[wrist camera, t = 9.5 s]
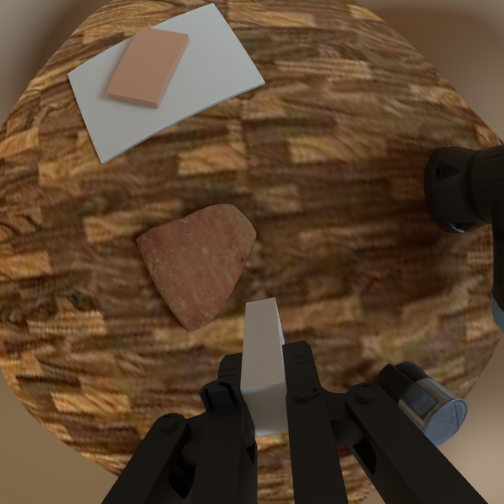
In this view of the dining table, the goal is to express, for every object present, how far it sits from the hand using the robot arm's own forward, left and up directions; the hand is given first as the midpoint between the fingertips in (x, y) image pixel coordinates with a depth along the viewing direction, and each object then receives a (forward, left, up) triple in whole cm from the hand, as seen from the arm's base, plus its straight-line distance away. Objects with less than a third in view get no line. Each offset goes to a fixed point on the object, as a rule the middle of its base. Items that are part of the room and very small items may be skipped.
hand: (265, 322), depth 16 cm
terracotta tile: (+3, -27, -25) cm, 37 cm away
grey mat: (-2, -30, -27) cm, 41 cm away
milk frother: (-11, +34, -28) cm, 45 cm away
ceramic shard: (+4, -2, -28) cm, 28 cm away
